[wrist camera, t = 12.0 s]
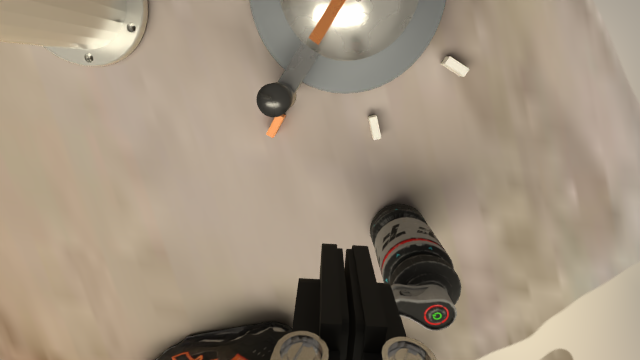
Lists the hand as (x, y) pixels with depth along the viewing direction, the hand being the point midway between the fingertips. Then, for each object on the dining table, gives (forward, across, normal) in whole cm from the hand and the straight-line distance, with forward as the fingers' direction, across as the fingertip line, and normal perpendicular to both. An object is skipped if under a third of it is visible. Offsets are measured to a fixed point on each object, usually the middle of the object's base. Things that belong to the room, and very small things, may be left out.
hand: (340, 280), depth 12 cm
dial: (+23, +1, -12) cm, 26 cm away
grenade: (+25, -8, +10) cm, 28 cm away
